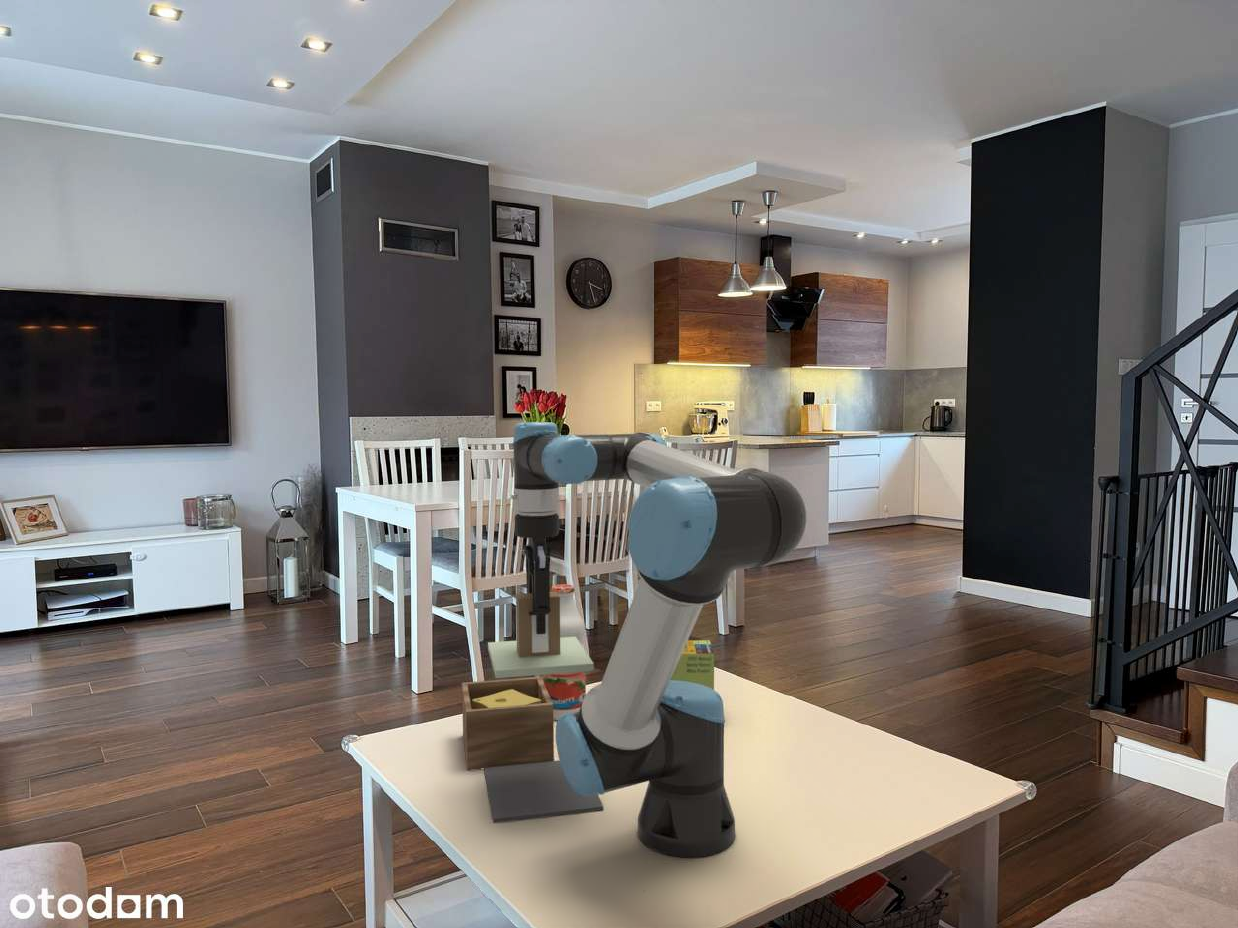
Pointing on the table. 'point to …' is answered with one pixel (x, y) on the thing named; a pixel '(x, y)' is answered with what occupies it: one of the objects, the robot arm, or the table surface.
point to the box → (507, 725)
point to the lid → (521, 660)
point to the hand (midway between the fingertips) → (538, 647)
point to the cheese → (504, 700)
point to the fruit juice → (571, 686)
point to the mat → (534, 792)
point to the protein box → (696, 664)
